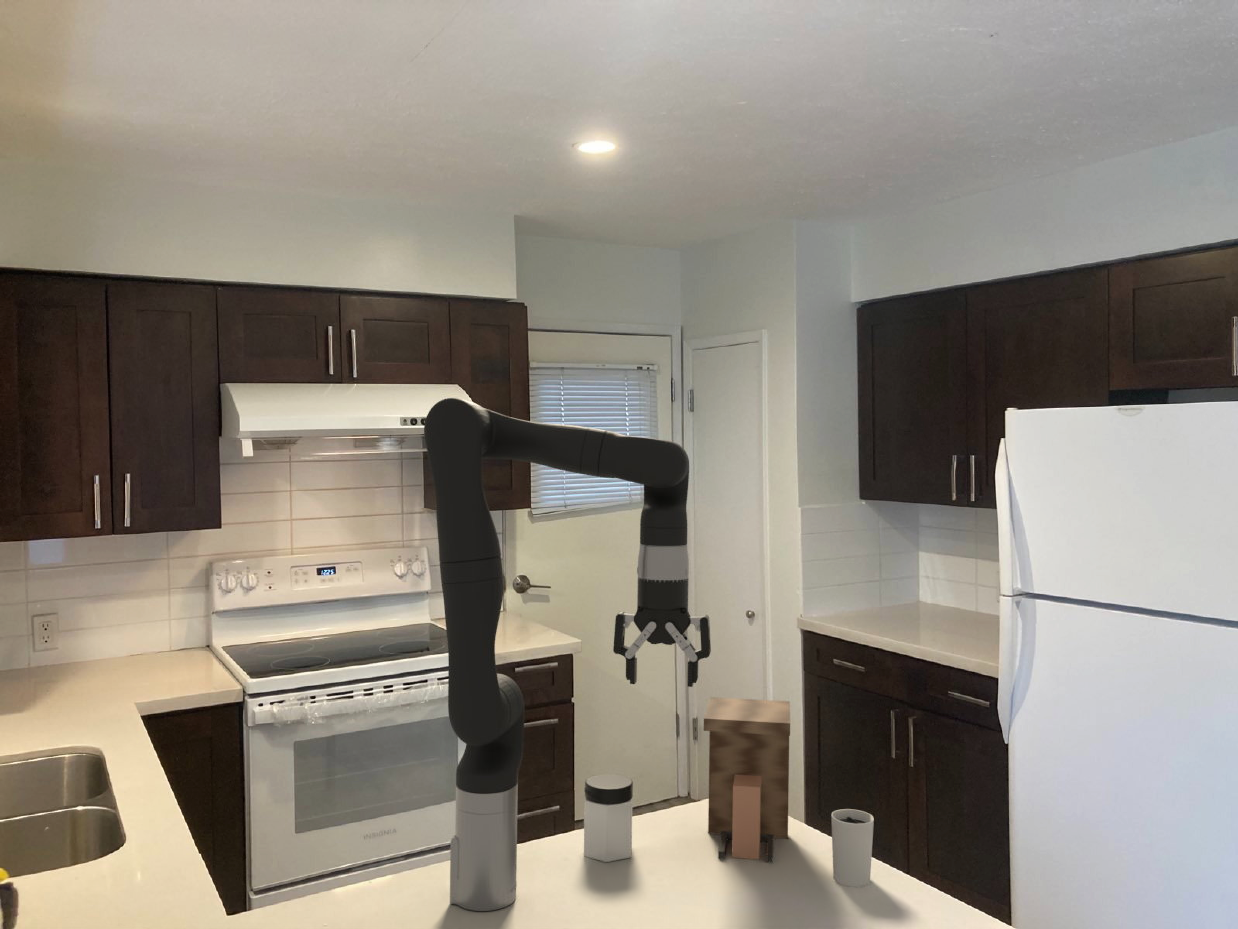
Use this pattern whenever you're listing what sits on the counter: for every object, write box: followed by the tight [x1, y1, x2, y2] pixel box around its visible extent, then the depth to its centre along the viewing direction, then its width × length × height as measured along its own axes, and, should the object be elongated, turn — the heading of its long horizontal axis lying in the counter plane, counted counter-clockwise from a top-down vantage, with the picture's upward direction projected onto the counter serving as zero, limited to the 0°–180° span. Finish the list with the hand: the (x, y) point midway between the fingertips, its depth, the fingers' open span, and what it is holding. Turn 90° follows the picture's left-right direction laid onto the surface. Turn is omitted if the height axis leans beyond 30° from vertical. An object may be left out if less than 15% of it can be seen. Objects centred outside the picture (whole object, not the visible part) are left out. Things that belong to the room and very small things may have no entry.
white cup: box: [831, 808, 875, 888], centre depth 157 cm, size 7×7×10 cm
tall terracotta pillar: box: [731, 775, 761, 860], centre depth 168 cm, size 4×6×12 cm
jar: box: [583, 773, 634, 863], centre depth 166 cm, size 9×8×12 cm
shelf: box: [703, 696, 791, 864], centre depth 169 cm, size 14×16×24 cm
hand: (661, 684), depth 146 cm, fingers open, 8 cm apart
